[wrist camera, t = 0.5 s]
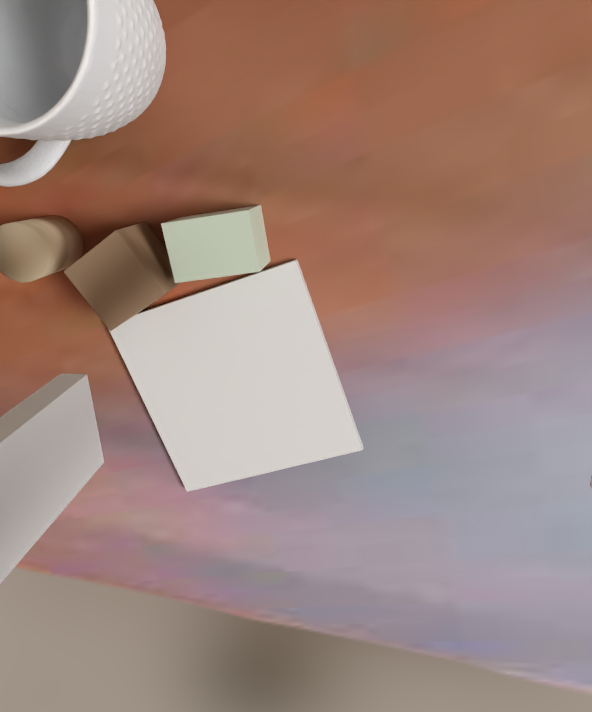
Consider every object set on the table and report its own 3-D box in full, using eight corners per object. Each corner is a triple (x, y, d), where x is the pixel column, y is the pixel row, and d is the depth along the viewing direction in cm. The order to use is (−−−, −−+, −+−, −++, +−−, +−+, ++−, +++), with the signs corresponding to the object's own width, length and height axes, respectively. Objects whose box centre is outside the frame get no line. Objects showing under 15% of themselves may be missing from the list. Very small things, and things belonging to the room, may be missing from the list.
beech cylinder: (25, 225, 40) (-21, 234, 35) (68, 207, 39) (27, 214, 34) (49, 274, 41) (8, 289, 36) (92, 258, 40) (56, 271, 35)
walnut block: (99, 258, 40) (63, 271, 35) (146, 221, 38) (116, 230, 34) (140, 311, 41) (110, 331, 36) (188, 277, 40) (163, 293, 35)
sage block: (181, 217, 38) (160, 223, 34) (261, 204, 37) (248, 209, 33) (193, 271, 39) (174, 283, 36) (270, 260, 38) (259, 271, 35)
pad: (109, 322, 42) (106, 324, 41) (297, 259, 38) (296, 260, 37) (189, 487, 46) (186, 491, 46) (363, 446, 42) (363, 449, 42)
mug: (123, 222, 39) (9, 251, 27) (-8, 133, 38) (-188, 121, 26) (224, 24, 33) (138, -53, 21) (74, -86, 32) (-105, -234, 20)
